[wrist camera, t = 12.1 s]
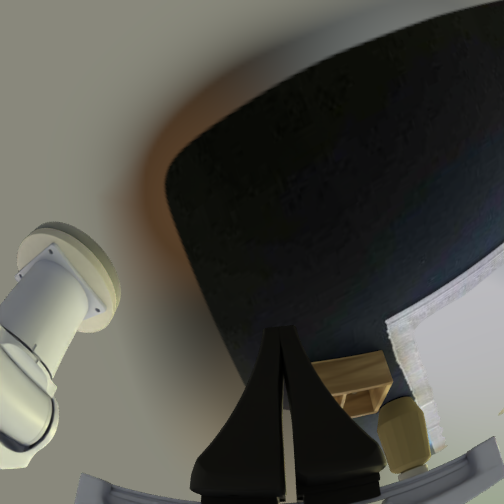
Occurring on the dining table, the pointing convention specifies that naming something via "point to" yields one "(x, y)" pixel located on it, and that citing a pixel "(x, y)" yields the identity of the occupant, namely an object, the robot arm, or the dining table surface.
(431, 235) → the dining table surface
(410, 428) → the squeeze bottle
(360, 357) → the cutlery caddy
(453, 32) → the dining table surface
